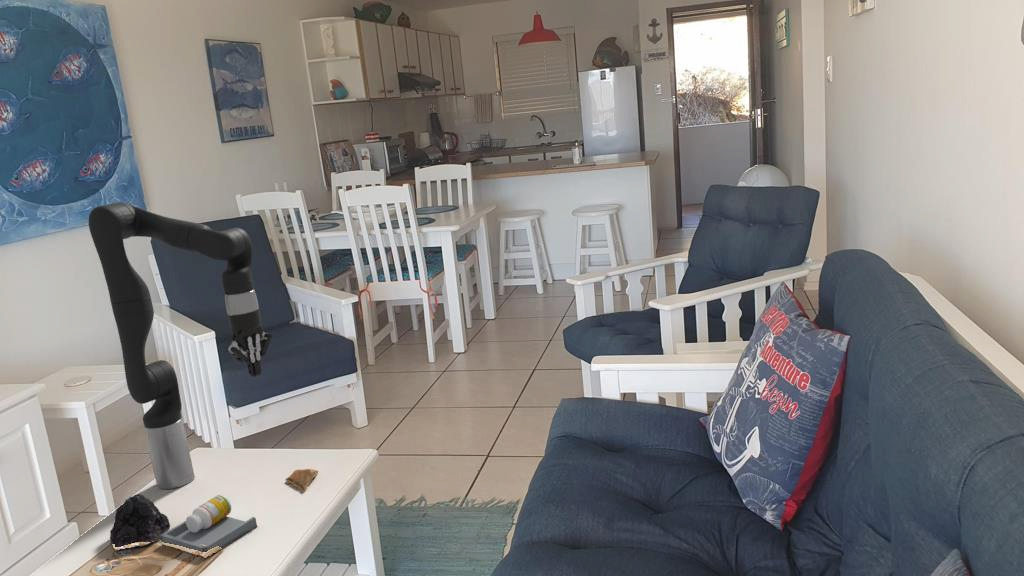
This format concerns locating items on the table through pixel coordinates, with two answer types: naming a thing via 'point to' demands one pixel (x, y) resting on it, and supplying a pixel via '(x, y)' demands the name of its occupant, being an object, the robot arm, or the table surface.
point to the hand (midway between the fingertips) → (255, 375)
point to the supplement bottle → (208, 513)
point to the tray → (209, 534)
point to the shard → (302, 478)
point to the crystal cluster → (138, 522)
